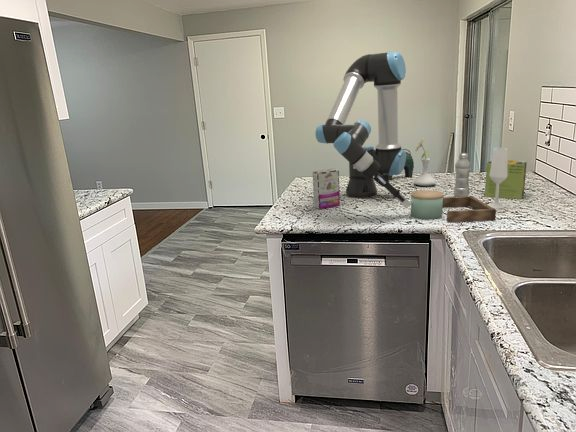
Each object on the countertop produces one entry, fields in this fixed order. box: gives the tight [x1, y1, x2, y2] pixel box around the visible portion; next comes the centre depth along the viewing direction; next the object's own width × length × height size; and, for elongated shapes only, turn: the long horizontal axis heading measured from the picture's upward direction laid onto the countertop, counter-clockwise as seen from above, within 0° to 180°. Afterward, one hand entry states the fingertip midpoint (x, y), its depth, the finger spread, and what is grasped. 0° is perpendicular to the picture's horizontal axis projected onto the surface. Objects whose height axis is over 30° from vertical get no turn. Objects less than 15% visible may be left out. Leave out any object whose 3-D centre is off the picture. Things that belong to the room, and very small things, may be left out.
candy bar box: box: [312, 168, 341, 210], centre depth 195 cm, size 11×5×16 cm, turn 118°
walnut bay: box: [442, 195, 497, 223], centre depth 175 cm, size 18×23×4 cm
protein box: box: [484, 159, 528, 200], centre depth 198 cm, size 10×15×16 cm
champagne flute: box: [487, 147, 508, 209], centre depth 180 cm, size 7×7×24 cm
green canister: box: [410, 189, 444, 220], centre depth 175 cm, size 12×12×9 cm
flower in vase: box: [413, 137, 437, 187], centre depth 226 cm, size 13×11×25 cm
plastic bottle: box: [453, 152, 471, 197], centre depth 199 cm, size 6×7×20 cm
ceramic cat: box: [384, 148, 415, 181], centre depth 249 cm, size 20×6×20 cm, turn 114°
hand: (408, 205), depth 174 cm, fingers closed
